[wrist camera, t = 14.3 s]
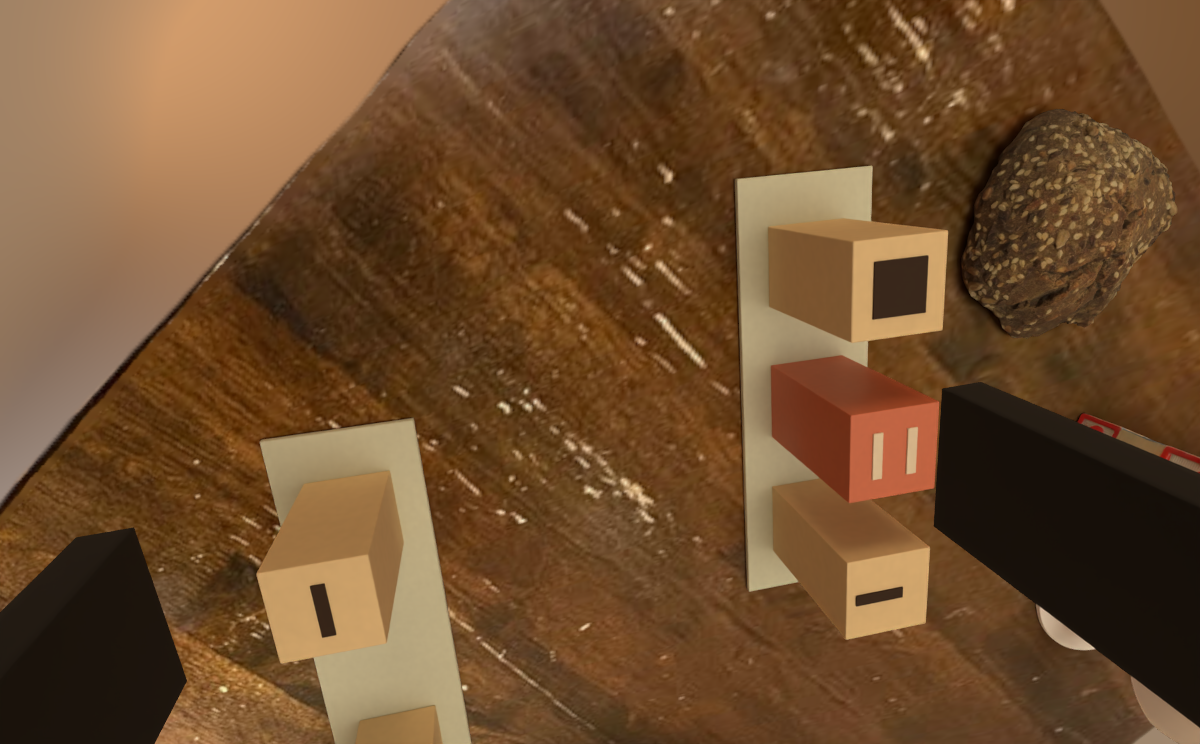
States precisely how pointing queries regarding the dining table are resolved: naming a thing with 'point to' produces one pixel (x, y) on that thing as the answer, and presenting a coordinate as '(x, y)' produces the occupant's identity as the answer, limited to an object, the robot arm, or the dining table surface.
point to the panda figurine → (1157, 711)
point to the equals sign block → (855, 427)
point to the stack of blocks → (1142, 442)
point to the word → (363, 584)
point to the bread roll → (1063, 222)
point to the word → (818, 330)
